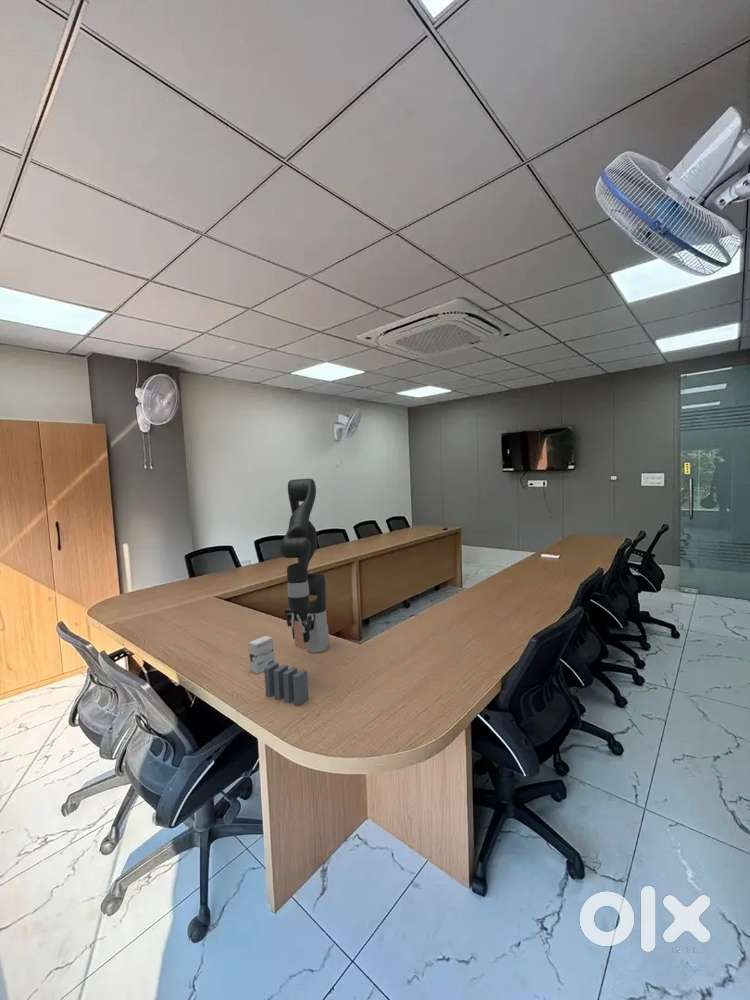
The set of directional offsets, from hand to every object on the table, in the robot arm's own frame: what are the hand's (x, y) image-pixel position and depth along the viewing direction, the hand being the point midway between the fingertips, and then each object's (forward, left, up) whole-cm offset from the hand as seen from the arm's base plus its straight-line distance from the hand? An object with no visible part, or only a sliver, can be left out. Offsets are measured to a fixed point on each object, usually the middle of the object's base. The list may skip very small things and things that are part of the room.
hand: (301, 639), depth 146 cm
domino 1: (+8, -7, -17) cm, 20 cm away
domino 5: (+8, +6, -17) cm, 20 cm away
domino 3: (+8, +1, -17) cm, 19 cm away
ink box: (-4, -25, -18) cm, 30 cm away
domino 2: (+8, -3, -17) cm, 19 cm away
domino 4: (0, 0, -2) cm, 2 cm away
